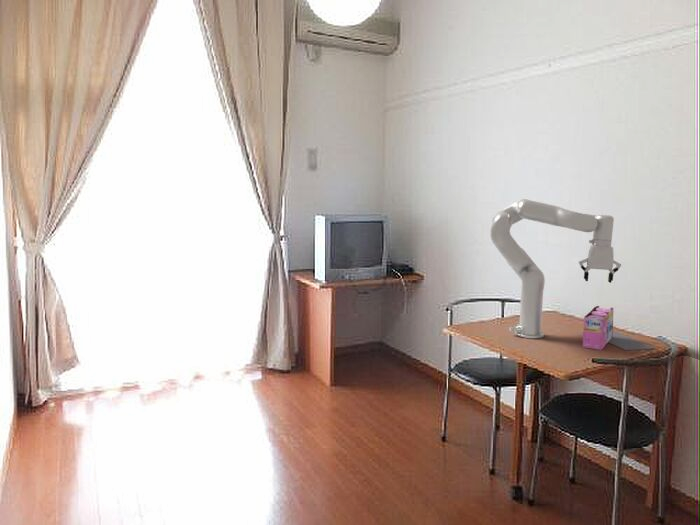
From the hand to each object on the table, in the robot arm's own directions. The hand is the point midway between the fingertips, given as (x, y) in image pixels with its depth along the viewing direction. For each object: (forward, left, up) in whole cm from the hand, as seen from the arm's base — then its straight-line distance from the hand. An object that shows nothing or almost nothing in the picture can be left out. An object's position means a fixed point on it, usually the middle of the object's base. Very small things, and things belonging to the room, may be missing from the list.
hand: (597, 281), depth 244 cm
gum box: (-2, -6, -26) cm, 27 cm away
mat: (+10, -6, -26) cm, 29 cm away
